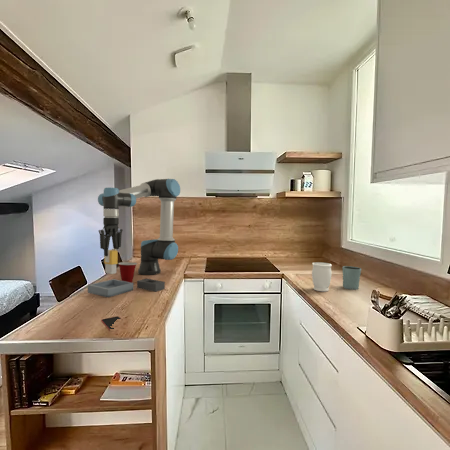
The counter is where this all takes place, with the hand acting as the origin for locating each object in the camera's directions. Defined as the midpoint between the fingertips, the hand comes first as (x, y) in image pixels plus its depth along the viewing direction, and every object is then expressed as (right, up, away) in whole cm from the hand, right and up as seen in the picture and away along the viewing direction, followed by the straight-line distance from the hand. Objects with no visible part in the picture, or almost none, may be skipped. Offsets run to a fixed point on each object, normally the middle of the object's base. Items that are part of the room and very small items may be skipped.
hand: (110, 261), depth 152 cm
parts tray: (0, -16, +1) cm, 16 cm away
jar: (+115, -18, +12) cm, 117 cm away
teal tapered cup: (+135, -18, +18) cm, 137 cm away
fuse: (0, -6, 0) cm, 6 cm away
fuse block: (+19, -16, +8) cm, 26 cm away
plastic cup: (+2, -15, +20) cm, 26 cm away
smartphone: (+18, -19, -42) cm, 50 cm away
